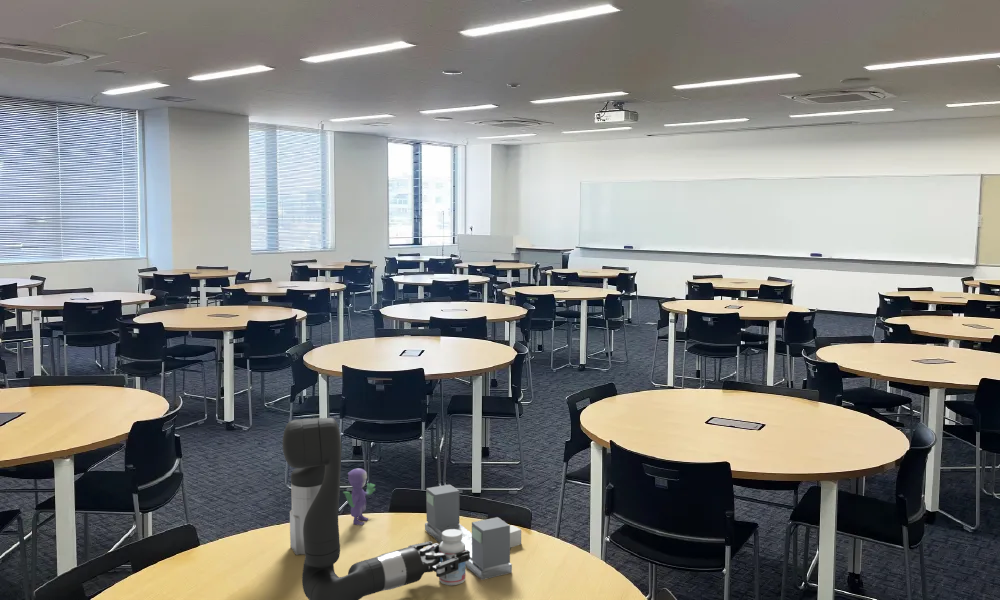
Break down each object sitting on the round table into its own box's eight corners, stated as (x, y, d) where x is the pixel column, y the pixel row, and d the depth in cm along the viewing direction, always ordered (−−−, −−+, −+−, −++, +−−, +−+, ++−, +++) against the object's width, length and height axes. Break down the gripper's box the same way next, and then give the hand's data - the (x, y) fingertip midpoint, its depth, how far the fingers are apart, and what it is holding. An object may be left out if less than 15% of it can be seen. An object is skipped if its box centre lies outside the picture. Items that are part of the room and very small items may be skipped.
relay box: (503, 550, 187) (503, 535, 187) (493, 545, 190) (493, 530, 190) (521, 544, 191) (521, 529, 191) (511, 539, 194) (511, 524, 194)
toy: (354, 534, 197) (353, 479, 196) (334, 533, 198) (333, 478, 197) (379, 510, 215) (378, 459, 214) (361, 509, 216) (360, 458, 215)
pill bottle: (468, 583, 168) (468, 535, 167) (443, 588, 166) (442, 539, 165) (461, 572, 174) (461, 526, 173) (435, 576, 172) (435, 529, 171)
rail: (481, 579, 170) (481, 569, 170) (425, 530, 200) (424, 521, 200) (511, 572, 174) (511, 562, 174) (451, 524, 204) (451, 516, 204)
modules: (482, 569, 170) (482, 531, 170) (425, 521, 200) (425, 488, 199) (509, 562, 174) (509, 525, 173) (450, 516, 204) (450, 484, 203)
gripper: (412, 563, 155) (478, 544, 165) (381, 541, 167) (444, 524, 177) (413, 598, 156) (478, 576, 166) (381, 573, 167) (444, 555, 177)
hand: (460, 550), depth 171 cm, fingers closed on pill bottle, 6 cm apart
